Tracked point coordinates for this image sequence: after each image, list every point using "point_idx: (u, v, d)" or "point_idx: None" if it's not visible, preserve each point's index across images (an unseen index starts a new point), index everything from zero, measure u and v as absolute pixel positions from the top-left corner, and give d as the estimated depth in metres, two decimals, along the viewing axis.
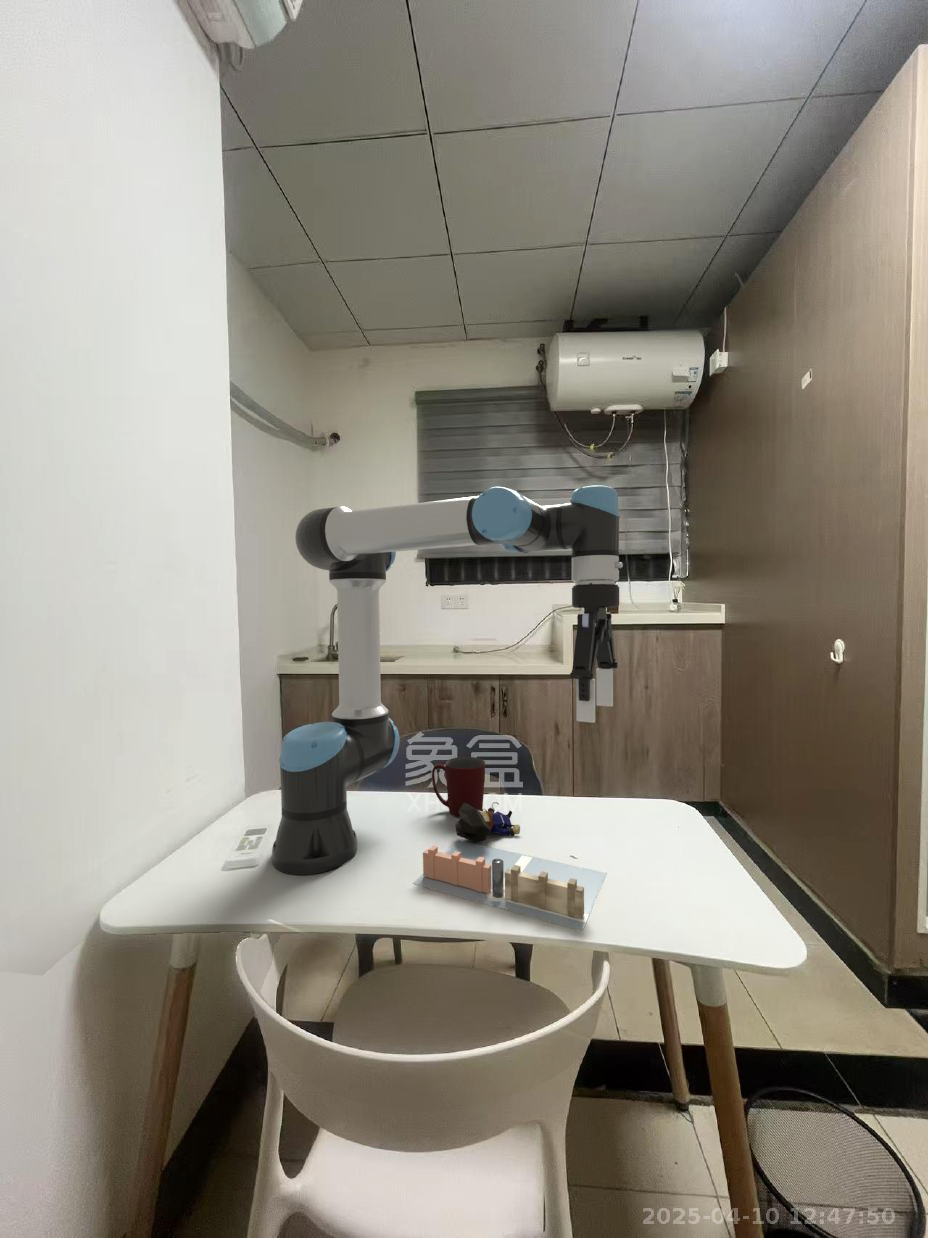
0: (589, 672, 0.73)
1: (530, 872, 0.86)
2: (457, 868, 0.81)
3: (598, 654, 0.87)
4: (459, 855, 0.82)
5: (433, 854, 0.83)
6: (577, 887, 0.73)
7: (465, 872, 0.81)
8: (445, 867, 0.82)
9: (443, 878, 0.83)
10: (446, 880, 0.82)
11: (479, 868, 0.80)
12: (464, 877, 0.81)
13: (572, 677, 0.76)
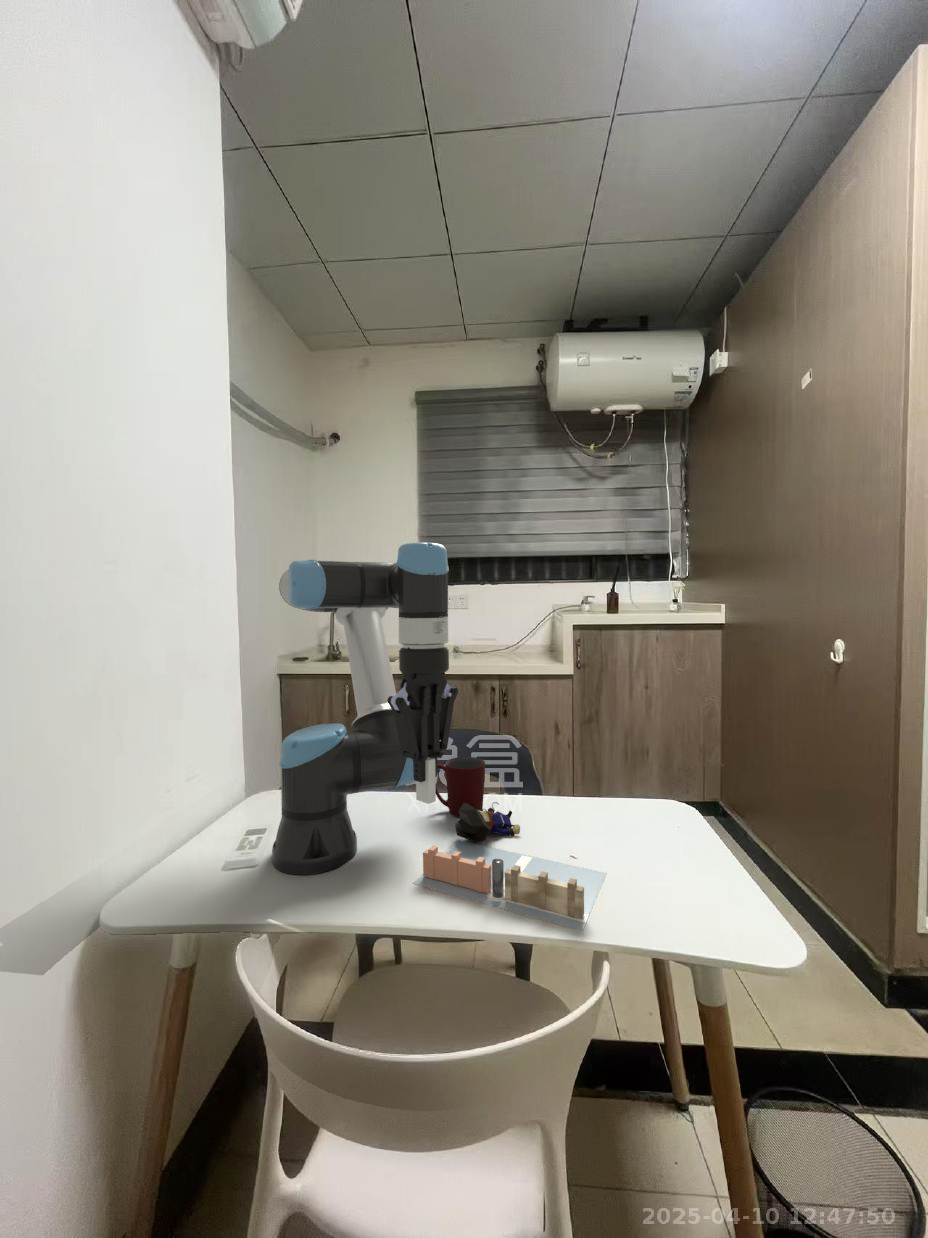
0: (415, 756, 0.73)
1: (530, 872, 0.86)
2: (457, 868, 0.81)
3: None
4: (459, 855, 0.82)
5: (433, 854, 0.83)
6: (577, 887, 0.73)
7: (465, 872, 0.81)
8: (445, 867, 0.82)
9: (443, 878, 0.83)
10: (446, 880, 0.82)
11: (479, 868, 0.80)
12: (464, 877, 0.81)
13: None
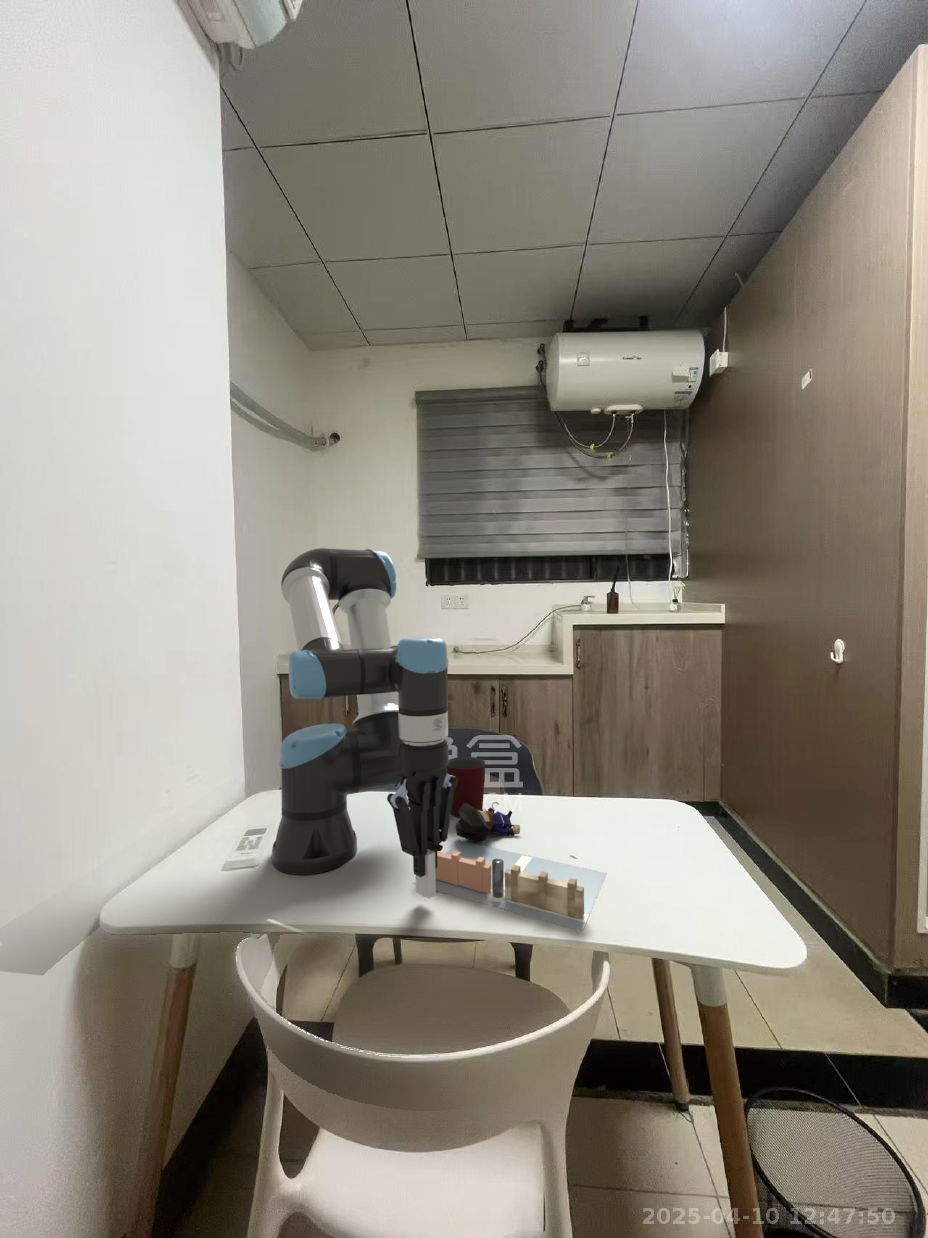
0: (414, 853, 0.73)
1: (530, 872, 0.86)
2: (457, 868, 0.81)
3: None
4: (459, 855, 0.82)
5: None
6: (577, 887, 0.73)
7: (465, 872, 0.81)
8: (445, 867, 0.82)
9: (443, 878, 0.83)
10: (446, 880, 0.82)
11: (479, 868, 0.80)
12: (464, 877, 0.81)
13: None
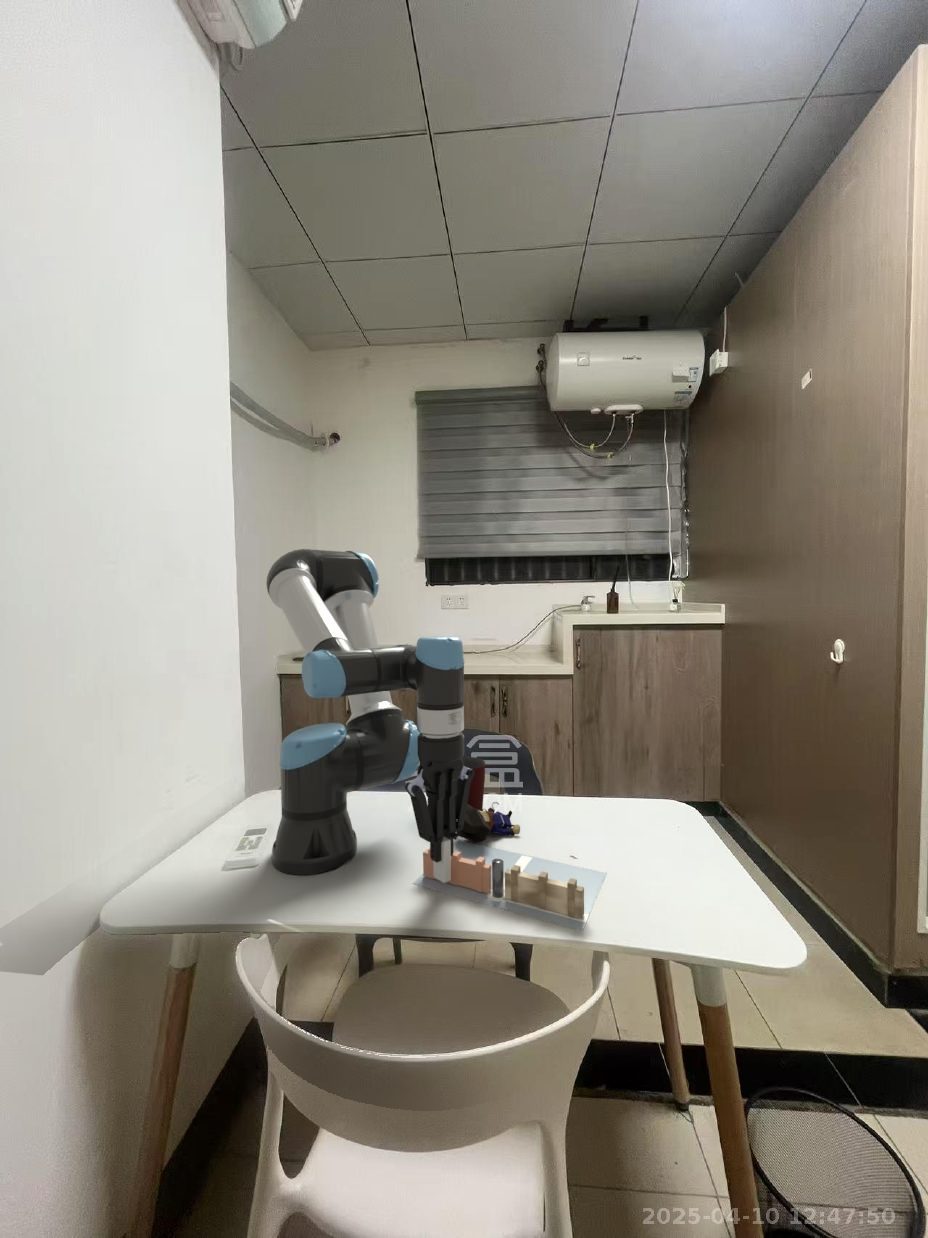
0: (430, 839, 0.78)
1: (530, 872, 0.86)
2: (457, 868, 0.81)
3: None
4: (459, 855, 0.82)
5: None
6: (577, 887, 0.73)
7: (465, 872, 0.81)
8: None
9: None
10: None
11: (479, 868, 0.80)
12: (464, 877, 0.81)
13: None
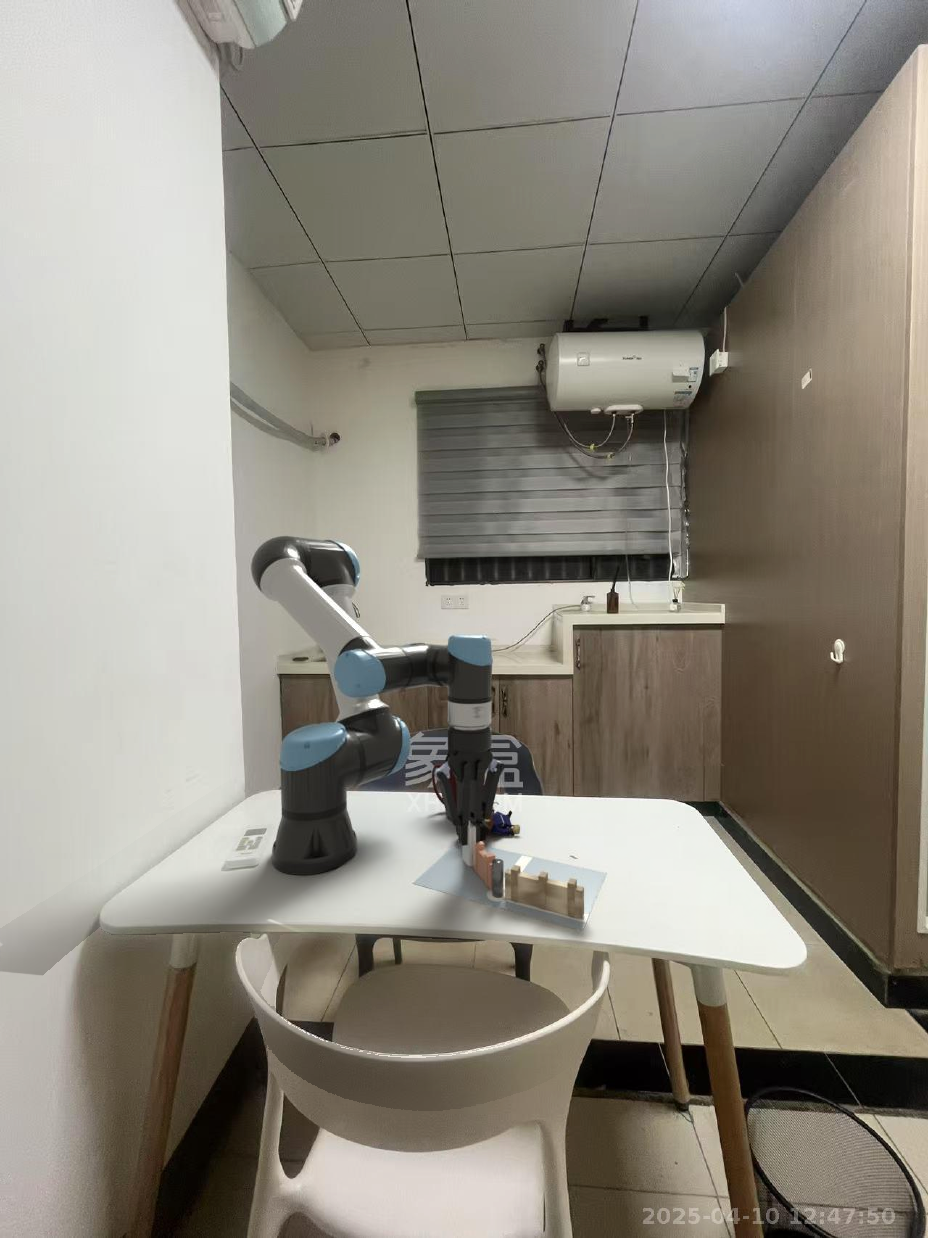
0: (455, 823, 0.84)
1: (530, 872, 0.86)
2: (477, 857, 0.85)
3: (470, 800, 0.87)
4: (481, 846, 0.85)
5: None
6: (577, 887, 0.73)
7: (480, 863, 0.84)
8: None
9: None
10: (472, 865, 0.87)
11: (486, 863, 0.81)
12: (480, 867, 0.84)
13: None
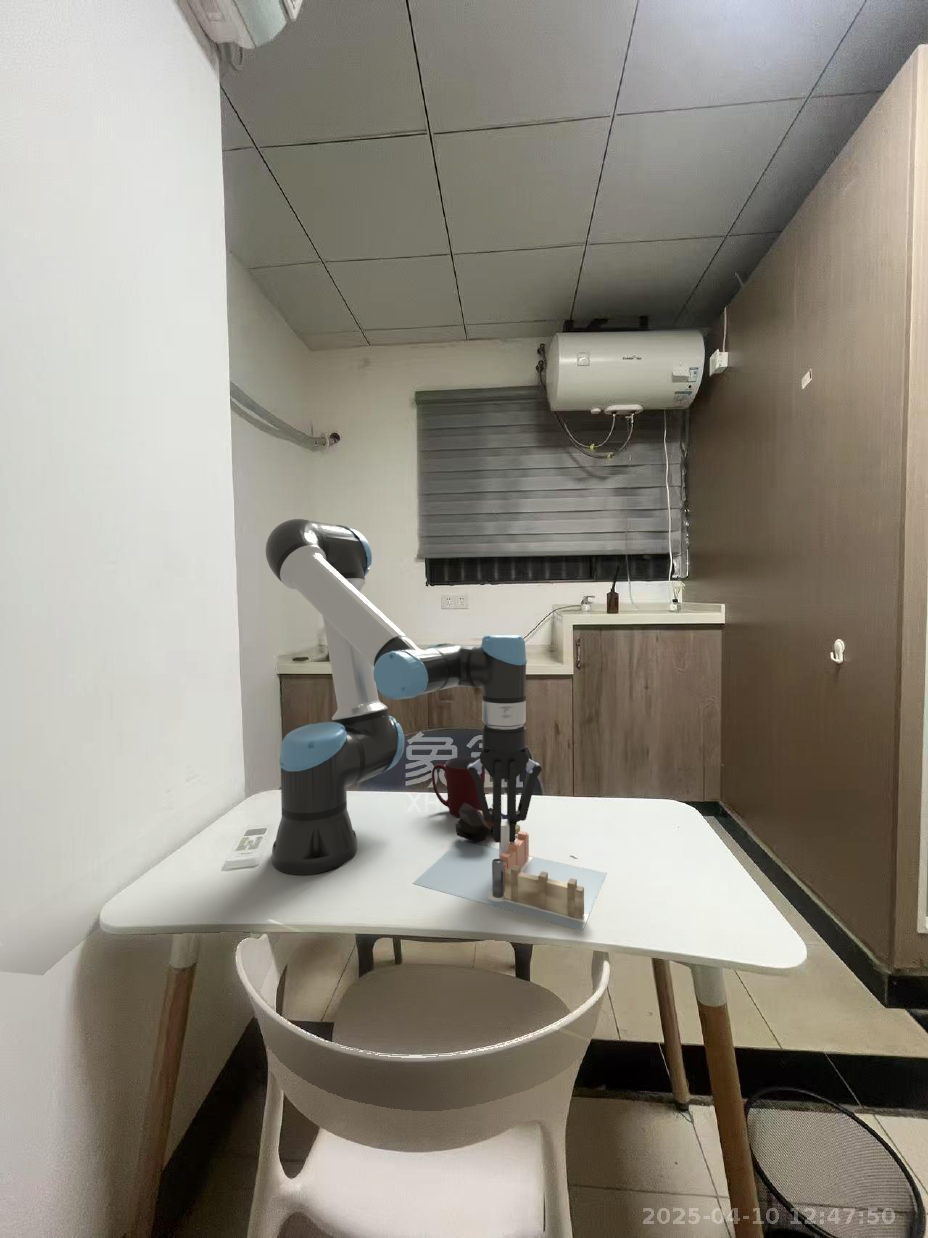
0: (486, 819, 0.85)
1: (530, 872, 0.86)
2: None
3: (507, 799, 0.88)
4: (514, 846, 0.85)
5: None
6: (577, 887, 0.73)
7: None
8: None
9: None
10: None
11: None
12: None
13: None
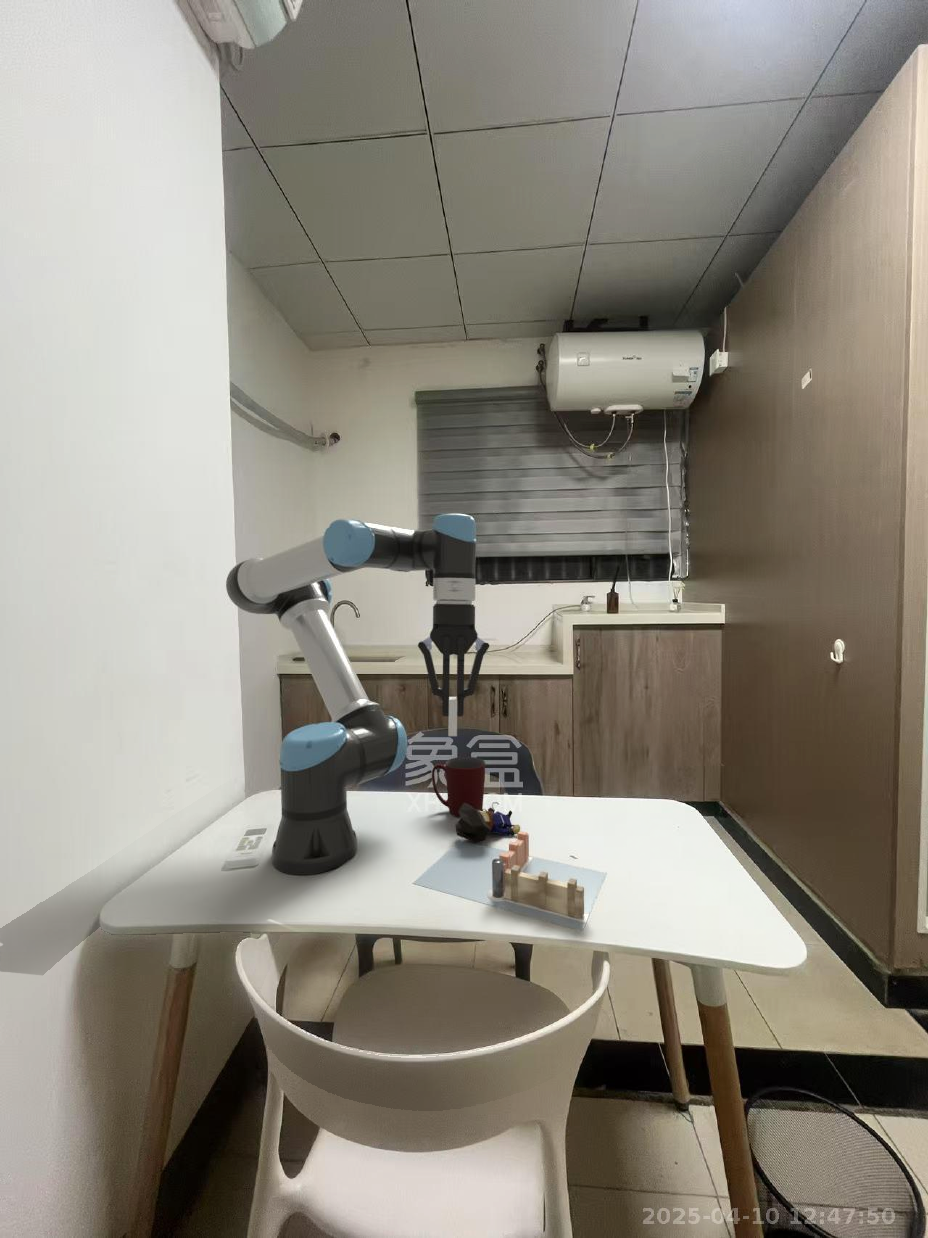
0: (434, 692, 0.89)
1: (530, 872, 0.86)
2: None
3: None
4: (514, 846, 0.85)
5: None
6: (577, 887, 0.73)
7: None
8: None
9: None
10: None
11: None
12: None
13: None
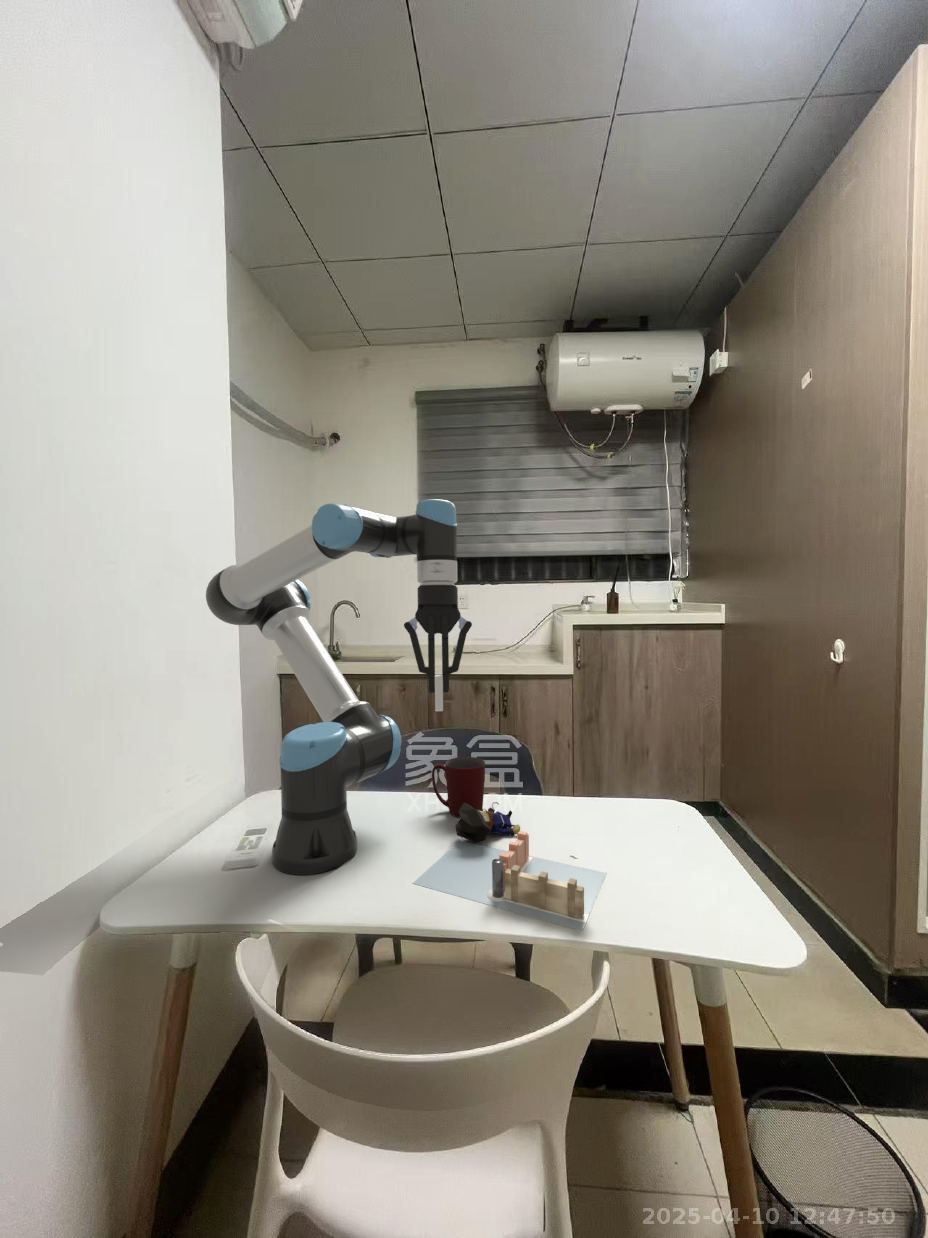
0: (420, 670, 0.93)
1: (530, 872, 0.86)
2: None
3: None
4: (514, 846, 0.85)
5: None
6: (577, 887, 0.73)
7: None
8: None
9: None
10: None
11: None
12: None
13: None
